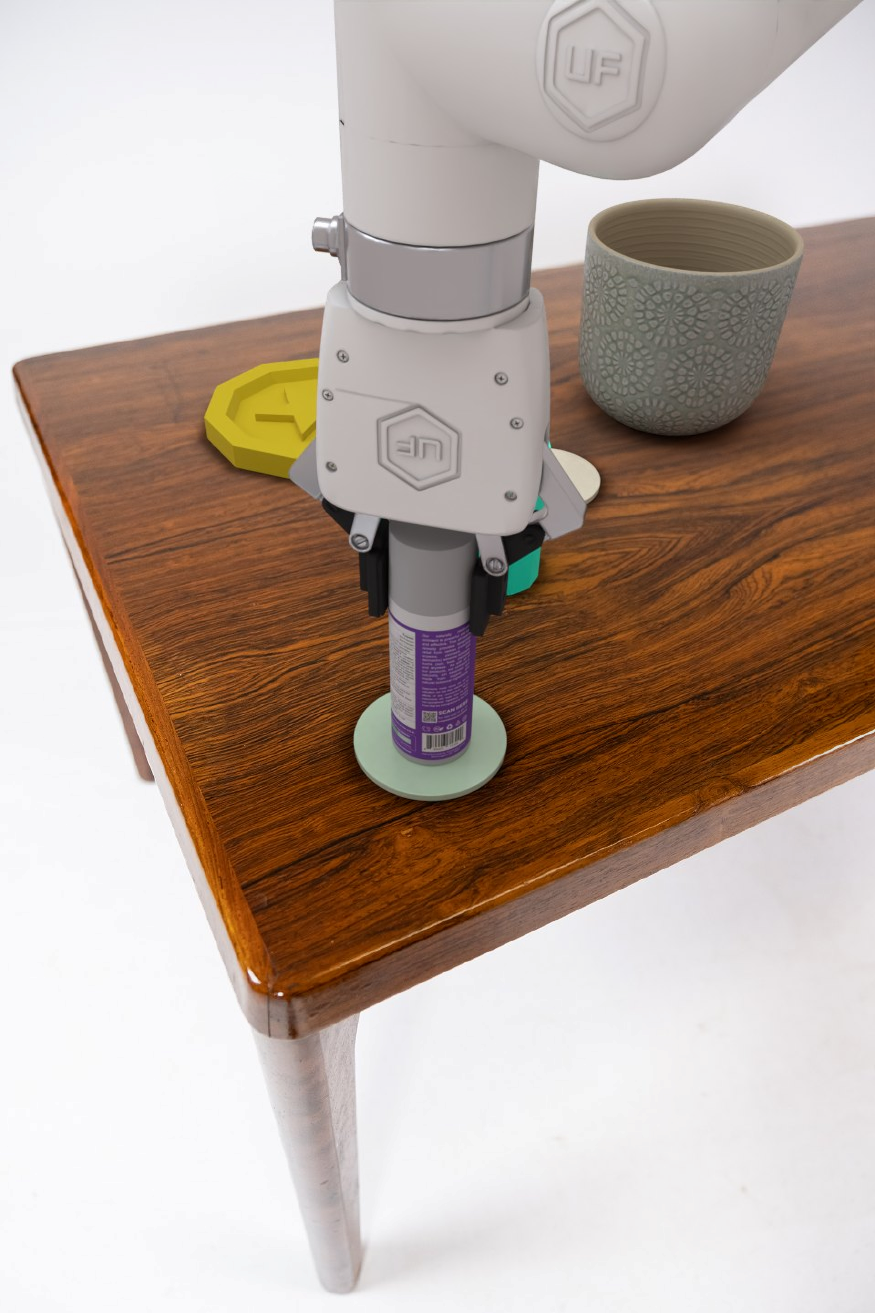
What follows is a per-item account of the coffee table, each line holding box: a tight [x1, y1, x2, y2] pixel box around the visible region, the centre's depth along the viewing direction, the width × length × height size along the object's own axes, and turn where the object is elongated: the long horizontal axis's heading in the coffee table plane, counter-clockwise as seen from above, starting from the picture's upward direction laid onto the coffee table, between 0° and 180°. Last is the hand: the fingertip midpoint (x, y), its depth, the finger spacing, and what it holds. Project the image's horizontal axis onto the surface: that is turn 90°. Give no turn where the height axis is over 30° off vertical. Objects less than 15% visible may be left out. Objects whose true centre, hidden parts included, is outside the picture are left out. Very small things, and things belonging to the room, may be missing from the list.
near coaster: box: [353, 691, 508, 802], centre depth 60 cm, size 9×9×1 cm
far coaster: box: [551, 447, 601, 505], centre depth 81 cm, size 9×9×1 cm
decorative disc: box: [203, 357, 335, 480], centre depth 87 cm, size 17×18×2 cm
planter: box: [577, 197, 805, 437], centre depth 85 cm, size 17×17×15 cm
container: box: [387, 519, 479, 766], centre depth 54 cm, size 5×5×15 cm
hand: (433, 607), depth 53 cm, fingers closed on container, 4 cm apart
